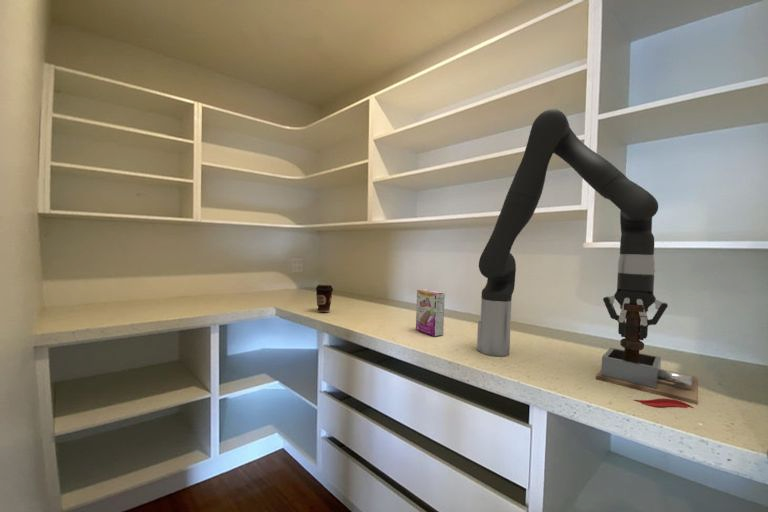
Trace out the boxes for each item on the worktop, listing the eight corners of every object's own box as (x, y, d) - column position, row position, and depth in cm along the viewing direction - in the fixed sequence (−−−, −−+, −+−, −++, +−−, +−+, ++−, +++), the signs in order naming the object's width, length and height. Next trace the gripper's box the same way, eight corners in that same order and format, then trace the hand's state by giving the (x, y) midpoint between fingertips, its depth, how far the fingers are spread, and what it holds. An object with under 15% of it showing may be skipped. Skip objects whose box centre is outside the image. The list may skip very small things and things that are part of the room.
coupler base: (595, 379, 85) (595, 375, 84) (610, 361, 99) (610, 358, 99) (697, 405, 71) (697, 400, 71) (696, 380, 86) (696, 376, 86)
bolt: (642, 360, 86) (645, 304, 85) (647, 366, 81) (650, 306, 81) (616, 356, 89) (618, 301, 88) (619, 362, 84) (622, 304, 84)
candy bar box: (414, 330, 130) (416, 289, 130) (424, 329, 133) (425, 289, 133) (434, 337, 121) (435, 293, 121) (443, 335, 124) (445, 292, 124)
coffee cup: (323, 313, 158) (324, 286, 158) (311, 311, 163) (312, 285, 163) (335, 310, 166) (336, 285, 165) (323, 308, 170) (324, 283, 170)
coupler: (601, 375, 85) (602, 356, 84) (613, 360, 98) (614, 343, 97) (691, 397, 73) (692, 375, 73) (691, 376, 86) (692, 357, 86)
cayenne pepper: (633, 405, 72) (633, 396, 72) (628, 397, 76) (628, 388, 76) (705, 419, 66) (706, 409, 66) (696, 409, 70) (696, 400, 70)
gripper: (600, 270, 87) (597, 335, 87) (670, 274, 77) (667, 347, 77) (605, 270, 92) (603, 330, 92) (672, 273, 82) (669, 341, 83)
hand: (632, 337), depth 85 cm, fingers closed on bolt, 3 cm apart
